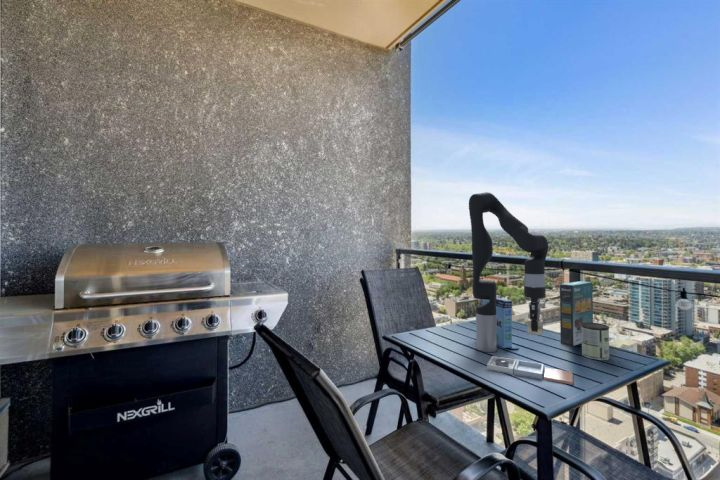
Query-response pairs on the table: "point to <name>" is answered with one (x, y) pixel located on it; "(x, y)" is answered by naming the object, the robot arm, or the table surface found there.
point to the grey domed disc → (502, 363)
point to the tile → (558, 376)
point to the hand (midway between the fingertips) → (535, 328)
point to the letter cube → (530, 331)
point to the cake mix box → (575, 310)
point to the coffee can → (595, 341)
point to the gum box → (503, 321)
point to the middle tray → (529, 369)
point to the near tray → (493, 367)
